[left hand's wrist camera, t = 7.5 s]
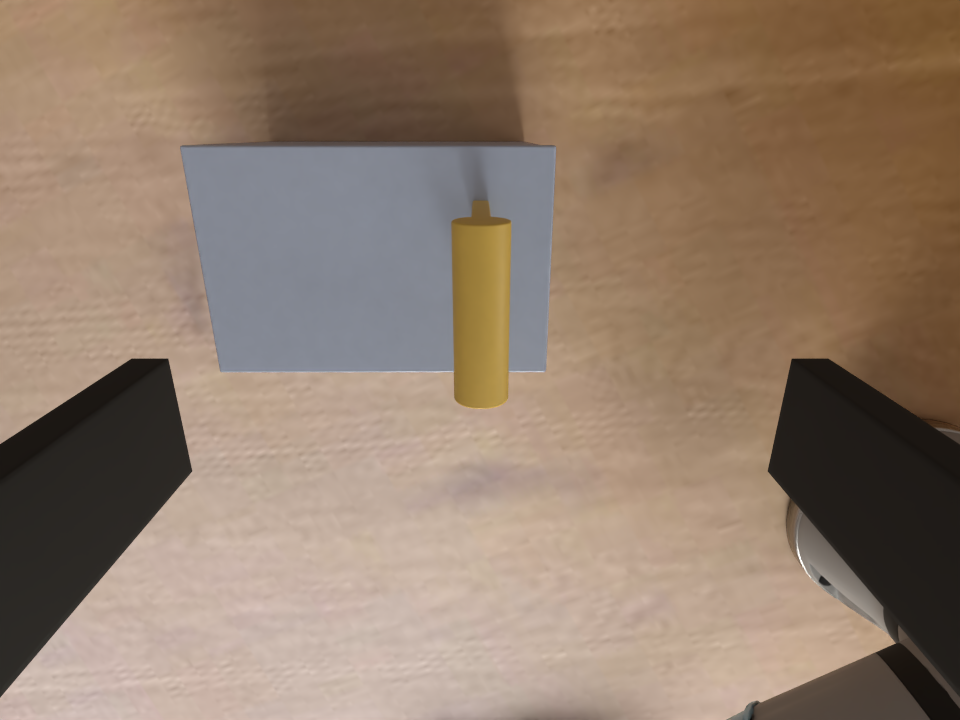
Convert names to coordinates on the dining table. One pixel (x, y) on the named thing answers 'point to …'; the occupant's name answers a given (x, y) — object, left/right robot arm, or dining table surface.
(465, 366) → the lid
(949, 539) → the left robot arm
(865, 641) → the dining table surface
